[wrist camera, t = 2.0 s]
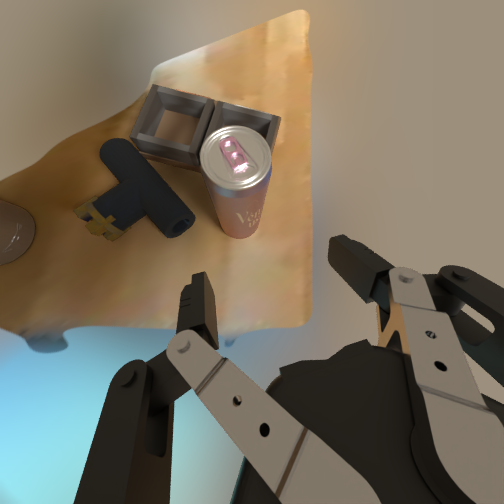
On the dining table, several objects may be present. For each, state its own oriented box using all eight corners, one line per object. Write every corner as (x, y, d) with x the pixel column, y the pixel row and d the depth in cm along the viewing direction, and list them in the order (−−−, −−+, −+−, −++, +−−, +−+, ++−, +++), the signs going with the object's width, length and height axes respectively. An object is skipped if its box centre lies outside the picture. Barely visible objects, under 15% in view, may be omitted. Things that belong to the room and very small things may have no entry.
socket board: (142, 157, 30) (126, 137, 26) (168, 95, 33) (158, 67, 29) (262, 188, 30) (266, 173, 26) (280, 123, 33) (285, 99, 29)
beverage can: (247, 197, 30) (251, 112, 15) (265, 229, 29) (288, 170, 14) (214, 213, 29) (184, 140, 14) (231, 246, 28) (218, 204, 14)
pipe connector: (113, 265, 22) (44, 177, 24) (137, 269, 27) (79, 197, 29) (190, 207, 24) (122, 130, 26) (198, 221, 29) (142, 157, 31)
